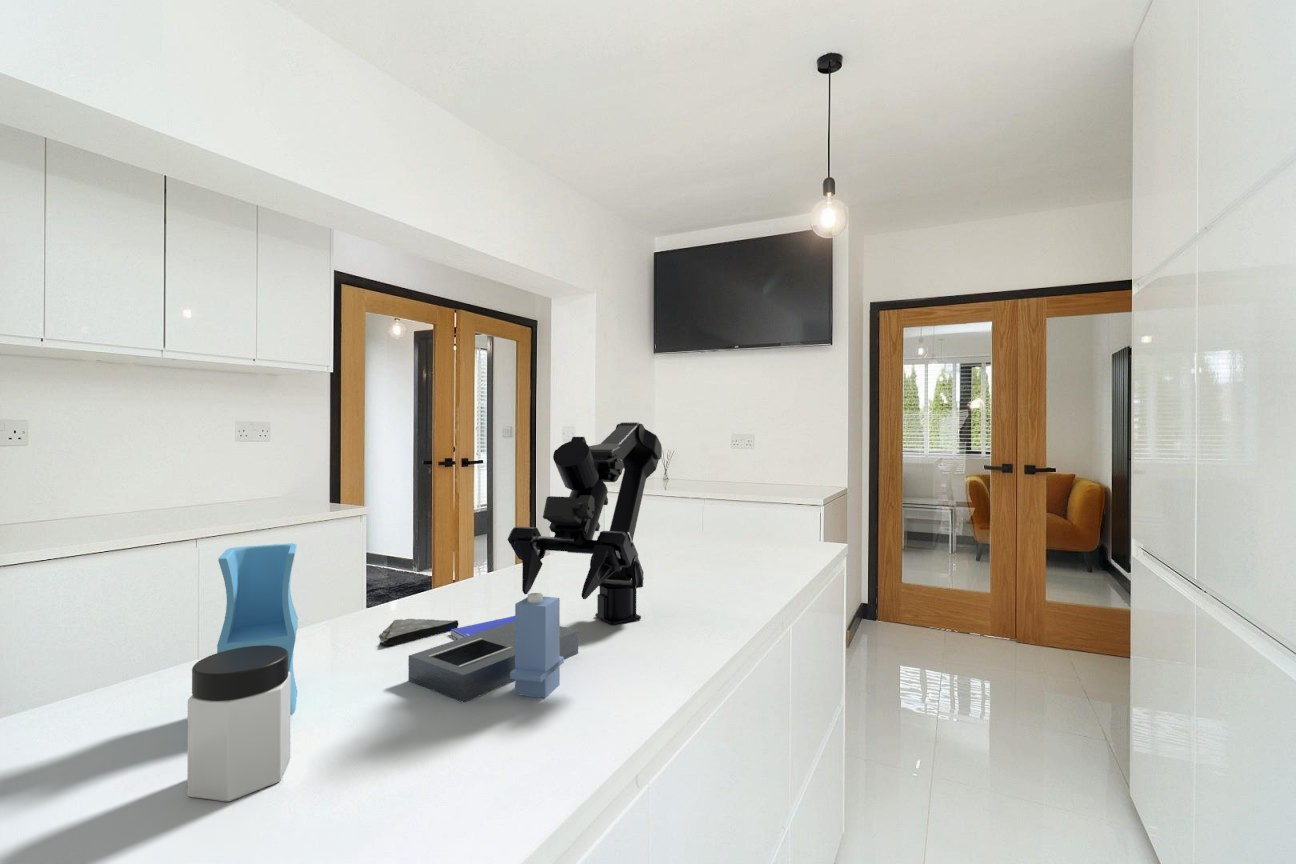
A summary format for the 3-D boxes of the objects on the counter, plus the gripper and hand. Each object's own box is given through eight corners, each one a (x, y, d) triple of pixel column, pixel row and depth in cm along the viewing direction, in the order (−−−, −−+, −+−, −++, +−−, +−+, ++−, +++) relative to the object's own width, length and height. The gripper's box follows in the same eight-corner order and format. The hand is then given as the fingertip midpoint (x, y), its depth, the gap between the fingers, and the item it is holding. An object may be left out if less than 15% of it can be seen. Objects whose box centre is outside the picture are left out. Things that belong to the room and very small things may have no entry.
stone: (385, 652, 99) (384, 638, 99) (359, 639, 106) (358, 626, 106) (459, 632, 109) (459, 619, 109) (431, 621, 116) (431, 609, 116)
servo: (535, 677, 88) (535, 585, 88) (563, 681, 86) (563, 588, 86) (510, 698, 81) (510, 599, 81) (540, 702, 79) (540, 601, 79)
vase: (216, 730, 72) (217, 558, 72) (226, 703, 79) (227, 547, 79) (294, 715, 76) (295, 552, 76) (297, 691, 83) (297, 542, 83)
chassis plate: (524, 638, 104) (525, 616, 104) (578, 652, 97) (578, 630, 97) (408, 680, 86) (408, 654, 86) (463, 702, 79) (463, 674, 79)
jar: (275, 747, 68) (275, 638, 68) (305, 773, 63) (305, 655, 63) (175, 782, 61) (176, 661, 61) (200, 814, 56) (200, 682, 56)
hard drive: (472, 640, 100) (538, 624, 108) (450, 628, 106) (514, 614, 115) (472, 649, 100) (538, 633, 108) (450, 637, 106) (514, 623, 115)
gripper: (513, 474, 96) (474, 558, 85) (627, 477, 91) (600, 567, 80) (536, 519, 104) (502, 601, 93) (642, 523, 98) (620, 611, 88)
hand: (553, 595), depth 88 cm, fingers open, 9 cm apart
